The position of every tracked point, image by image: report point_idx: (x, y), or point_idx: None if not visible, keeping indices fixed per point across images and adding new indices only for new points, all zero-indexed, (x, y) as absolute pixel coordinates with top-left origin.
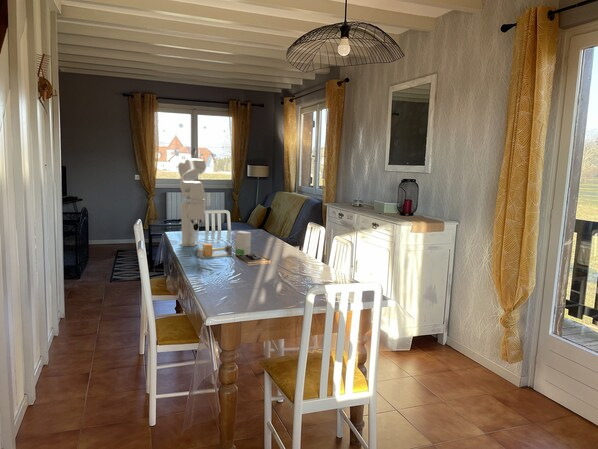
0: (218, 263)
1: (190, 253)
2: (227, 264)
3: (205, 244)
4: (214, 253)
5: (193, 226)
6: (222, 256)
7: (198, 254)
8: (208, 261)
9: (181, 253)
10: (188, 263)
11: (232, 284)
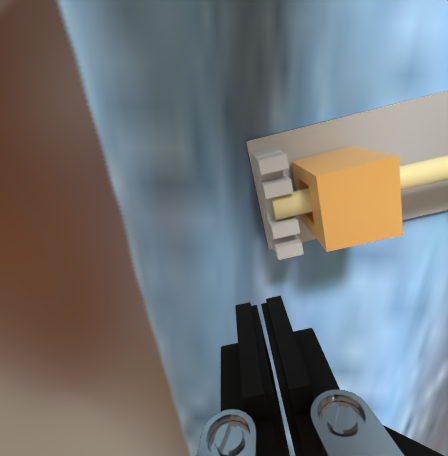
0: (360, 373)
1: (191, 67)
2: (402, 393)
3: (338, 217)
4: (388, 106)
5: (222, 385)
6: (425, 214)
7: (258, 180)
8: None
9: (115, 64)
10: (201, 367)
11: None
